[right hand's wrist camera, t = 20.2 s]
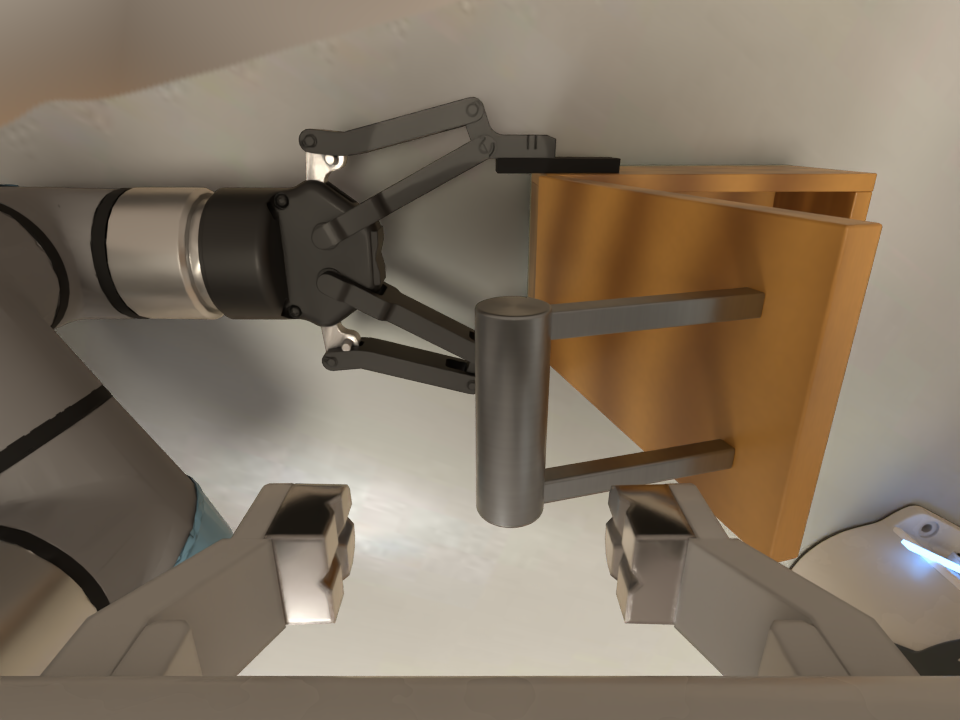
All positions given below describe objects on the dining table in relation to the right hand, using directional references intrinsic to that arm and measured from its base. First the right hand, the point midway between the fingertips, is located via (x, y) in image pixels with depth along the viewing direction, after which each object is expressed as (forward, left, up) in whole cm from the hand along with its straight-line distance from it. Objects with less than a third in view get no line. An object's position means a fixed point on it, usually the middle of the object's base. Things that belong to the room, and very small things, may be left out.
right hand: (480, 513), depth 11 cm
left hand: (-7, -2, -24) cm, 25 cm away
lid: (-6, -2, -13) cm, 14 cm away
